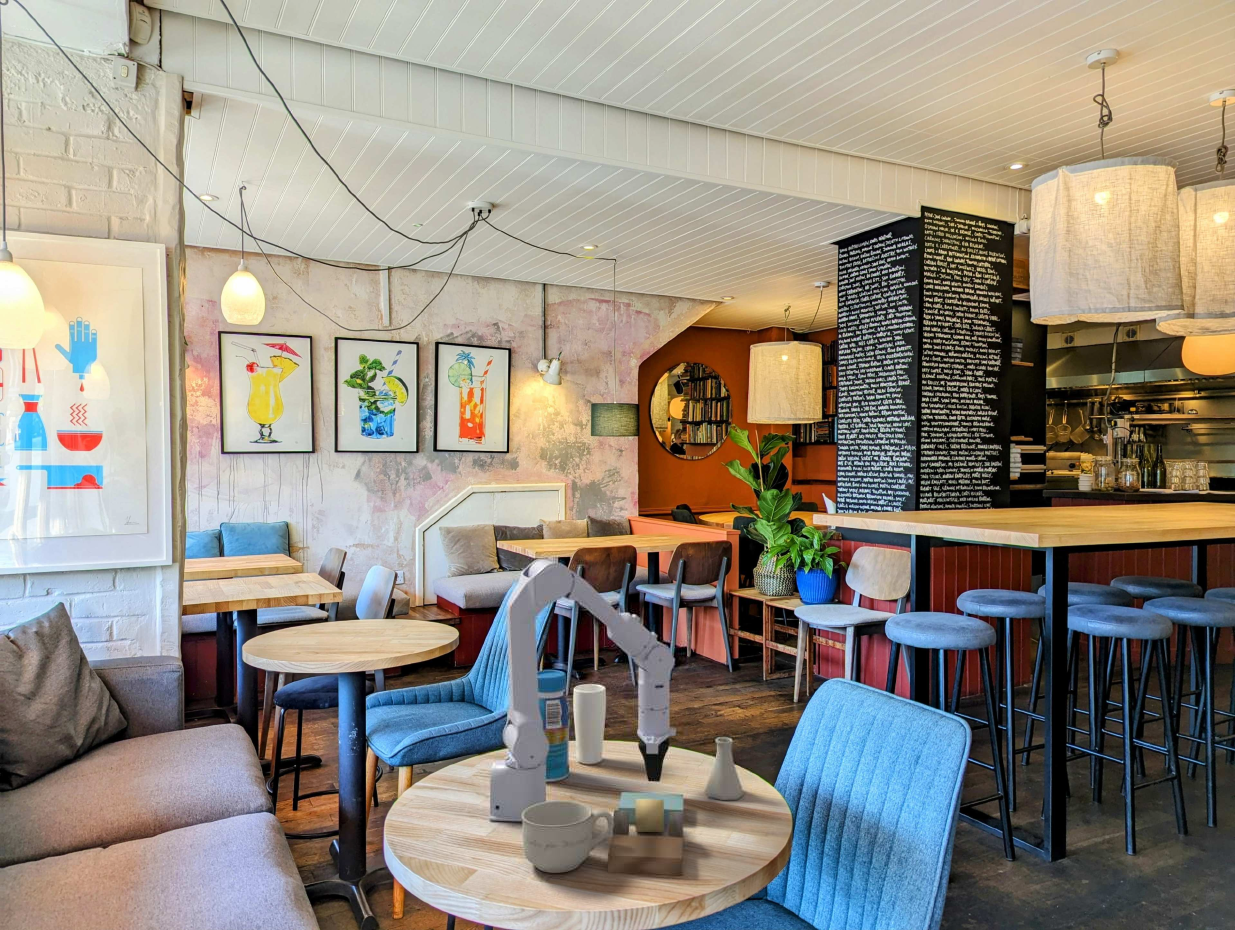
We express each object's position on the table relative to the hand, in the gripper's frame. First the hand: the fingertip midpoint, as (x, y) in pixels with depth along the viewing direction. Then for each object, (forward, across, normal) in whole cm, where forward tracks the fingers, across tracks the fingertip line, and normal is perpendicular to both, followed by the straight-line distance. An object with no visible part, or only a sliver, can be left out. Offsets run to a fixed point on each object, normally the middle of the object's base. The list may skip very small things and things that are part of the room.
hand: (654, 780), depth 150 cm
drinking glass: (+3, +17, +14) cm, 22 cm away
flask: (+3, +2, -13) cm, 13 cm away
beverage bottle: (+3, +8, +21) cm, 23 cm away
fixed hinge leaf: (+3, -24, 0) cm, 24 cm away
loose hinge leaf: (+3, -11, 0) cm, 12 cm away
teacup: (+3, -28, +12) cm, 30 cm away
